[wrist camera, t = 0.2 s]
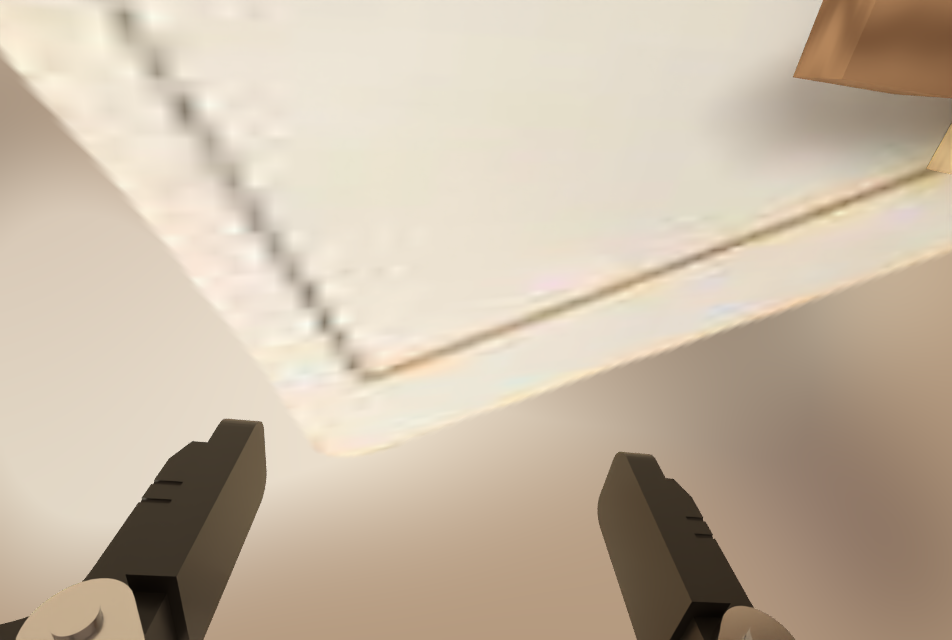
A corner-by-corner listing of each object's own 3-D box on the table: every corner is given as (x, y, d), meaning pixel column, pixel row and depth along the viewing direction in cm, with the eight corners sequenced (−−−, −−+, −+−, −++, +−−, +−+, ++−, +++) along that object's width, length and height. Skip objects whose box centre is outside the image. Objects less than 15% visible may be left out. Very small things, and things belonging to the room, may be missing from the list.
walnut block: (838, -44, 31) (903, -61, 27) (948, -22, 32) (1028, -35, 28) (791, 77, 34) (841, 79, 30) (892, 93, 35) (955, 98, 31)
